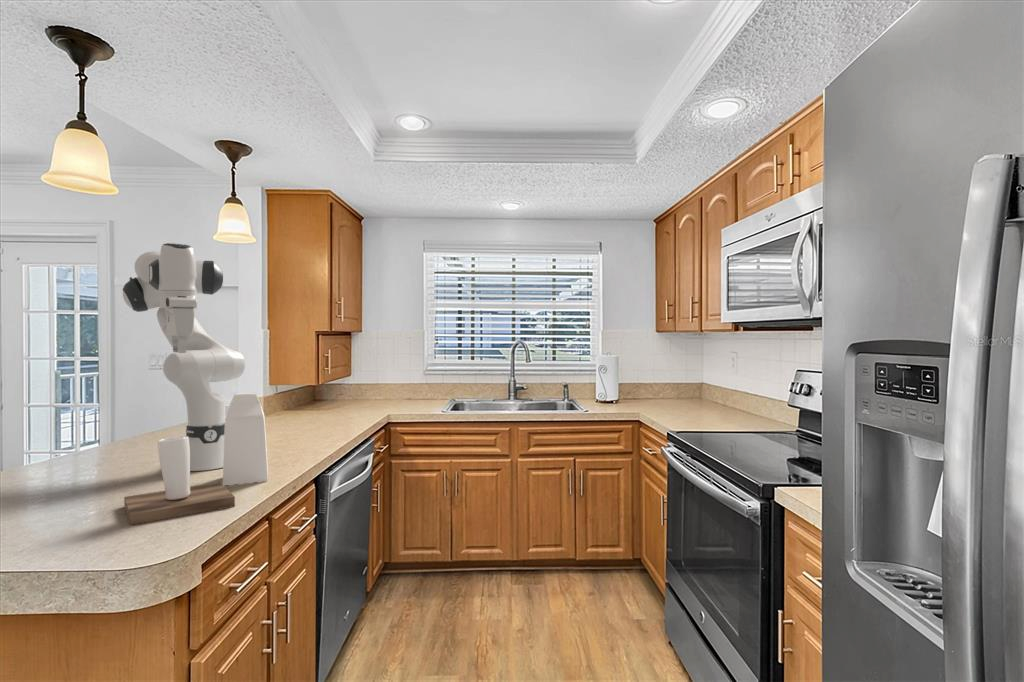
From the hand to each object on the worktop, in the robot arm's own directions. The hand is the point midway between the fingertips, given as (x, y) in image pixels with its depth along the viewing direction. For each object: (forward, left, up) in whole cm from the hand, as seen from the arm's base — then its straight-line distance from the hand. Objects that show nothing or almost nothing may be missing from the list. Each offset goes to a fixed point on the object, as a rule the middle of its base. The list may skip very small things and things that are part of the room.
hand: (179, 352), depth 151 cm
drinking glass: (+14, -2, -37) cm, 39 cm away
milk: (-6, +18, -39) cm, 44 cm away
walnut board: (+12, -2, -39) cm, 41 cm away
